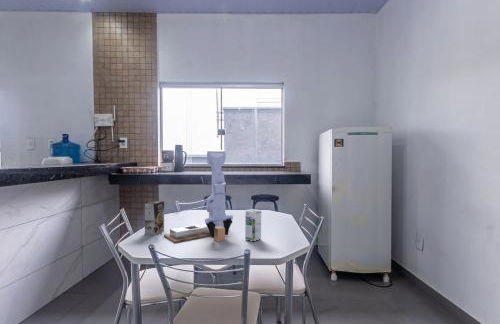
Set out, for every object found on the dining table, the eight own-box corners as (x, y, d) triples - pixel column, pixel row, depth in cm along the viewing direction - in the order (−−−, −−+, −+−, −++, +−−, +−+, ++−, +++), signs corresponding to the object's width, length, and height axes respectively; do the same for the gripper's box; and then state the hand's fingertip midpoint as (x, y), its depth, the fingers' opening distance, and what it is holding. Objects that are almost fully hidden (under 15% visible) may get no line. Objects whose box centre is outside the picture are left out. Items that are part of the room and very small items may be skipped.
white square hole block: (205, 229, 151) (205, 223, 151) (212, 231, 145) (212, 226, 145) (170, 235, 139) (170, 229, 139) (176, 238, 133) (176, 232, 133)
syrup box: (244, 240, 134) (244, 210, 134) (252, 237, 139) (252, 208, 139) (253, 242, 131) (253, 211, 130) (261, 239, 135) (261, 209, 135)
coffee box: (155, 235, 142) (155, 203, 142) (144, 234, 143) (144, 203, 143) (164, 230, 151) (164, 201, 151) (153, 230, 152) (153, 200, 152)
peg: (220, 238, 137) (220, 226, 137) (224, 240, 134) (225, 227, 134) (213, 239, 135) (213, 227, 135) (217, 241, 132) (217, 229, 132)
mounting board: (205, 229, 155) (205, 227, 155) (219, 234, 144) (219, 232, 144) (163, 236, 140) (163, 234, 140) (175, 243, 129) (175, 240, 129)
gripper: (210, 210, 127) (210, 240, 127) (236, 207, 136) (236, 235, 136) (202, 208, 132) (202, 237, 132) (228, 205, 141) (228, 232, 141)
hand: (219, 236), depth 134 cm, fingers open, 7 cm apart
